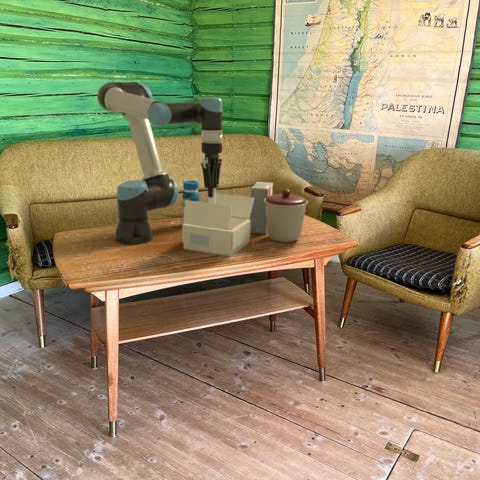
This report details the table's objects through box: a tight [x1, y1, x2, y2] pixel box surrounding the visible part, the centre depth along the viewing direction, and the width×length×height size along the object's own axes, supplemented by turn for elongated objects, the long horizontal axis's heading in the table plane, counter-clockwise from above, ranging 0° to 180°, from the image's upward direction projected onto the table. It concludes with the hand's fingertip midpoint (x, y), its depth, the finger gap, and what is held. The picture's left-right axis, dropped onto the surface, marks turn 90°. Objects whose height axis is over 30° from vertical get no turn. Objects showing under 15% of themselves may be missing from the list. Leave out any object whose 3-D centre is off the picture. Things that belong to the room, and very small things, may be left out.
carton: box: [181, 216, 251, 258], centre depth 191 cm, size 22×18×10 cm
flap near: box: [182, 200, 232, 230], centre depth 180 cm, size 19×9×1 cm
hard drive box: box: [249, 181, 274, 235], centre depth 213 cm, size 16×8×20 cm, turn 168°
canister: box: [264, 188, 309, 243], centre depth 200 cm, size 18×18×21 cm
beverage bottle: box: [181, 180, 201, 220], centre depth 216 cm, size 8×8×20 cm
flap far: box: [216, 192, 254, 219], centre depth 199 cm, size 19×9×1 cm
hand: (211, 204), depth 183 cm, fingers closed
